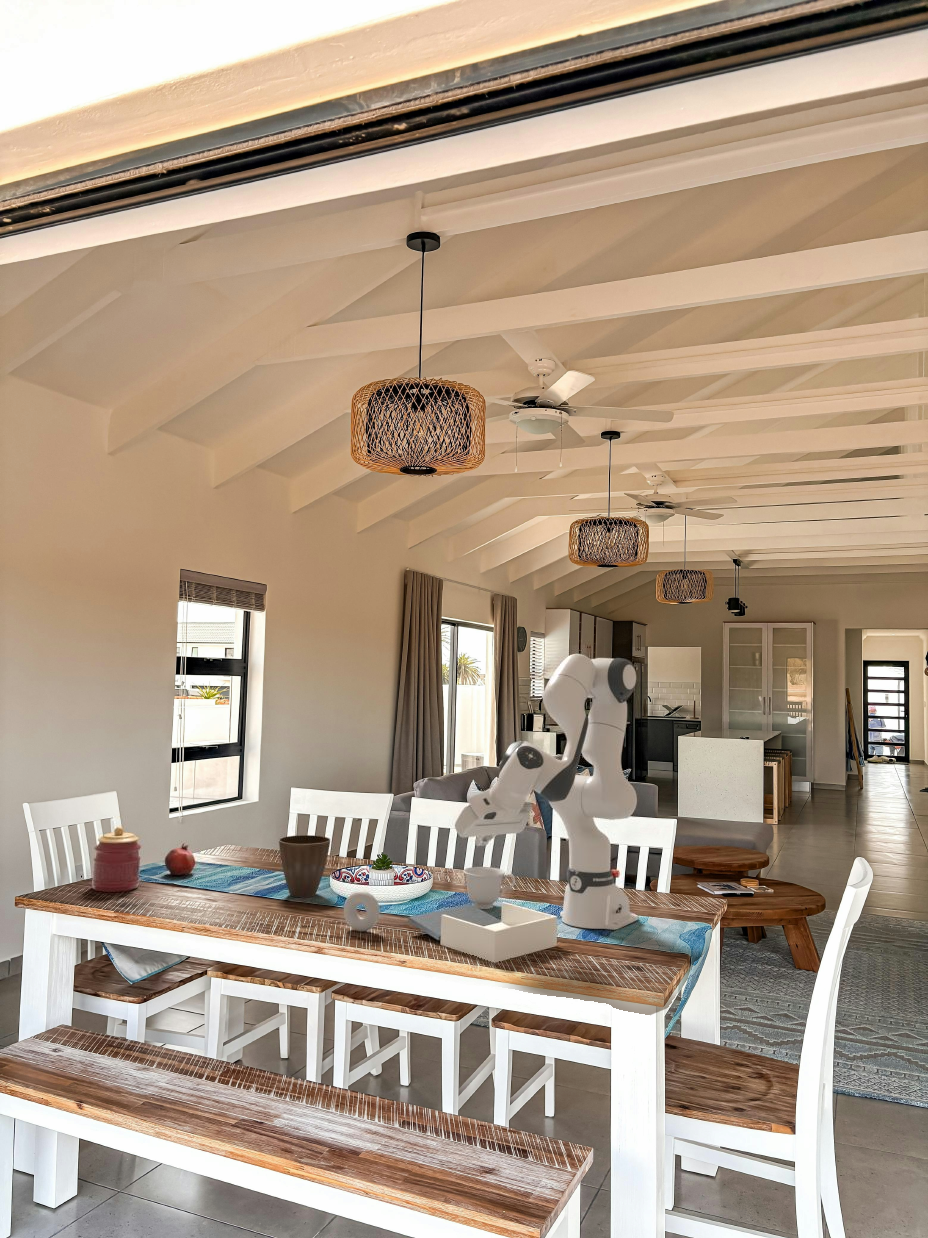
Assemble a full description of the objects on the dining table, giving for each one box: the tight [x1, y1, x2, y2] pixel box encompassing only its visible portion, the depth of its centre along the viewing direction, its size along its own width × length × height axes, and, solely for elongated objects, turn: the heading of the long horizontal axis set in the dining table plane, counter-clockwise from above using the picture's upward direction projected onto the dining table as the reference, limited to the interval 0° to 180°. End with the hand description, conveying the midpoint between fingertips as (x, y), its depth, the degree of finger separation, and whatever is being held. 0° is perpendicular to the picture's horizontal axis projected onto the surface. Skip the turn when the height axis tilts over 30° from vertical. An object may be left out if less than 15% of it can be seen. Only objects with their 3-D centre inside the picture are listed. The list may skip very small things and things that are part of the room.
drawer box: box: [440, 901, 558, 964], centre depth 216 cm, size 18×22×7 cm
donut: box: [343, 890, 381, 932], centre depth 224 cm, size 10×4×10 cm, turn 67°
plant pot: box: [278, 834, 331, 898], centre depth 261 cm, size 15×15×16 cm
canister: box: [91, 826, 142, 893], centre depth 262 cm, size 13×13×18 cm
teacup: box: [463, 866, 516, 910], centre depth 253 cm, size 12×15×10 cm
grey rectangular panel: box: [407, 903, 501, 941], centre depth 227 cm, size 2×22×12 cm
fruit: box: [164, 843, 196, 877], centre depth 282 cm, size 9×10×10 cm
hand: (480, 844), depth 224 cm, fingers closed
